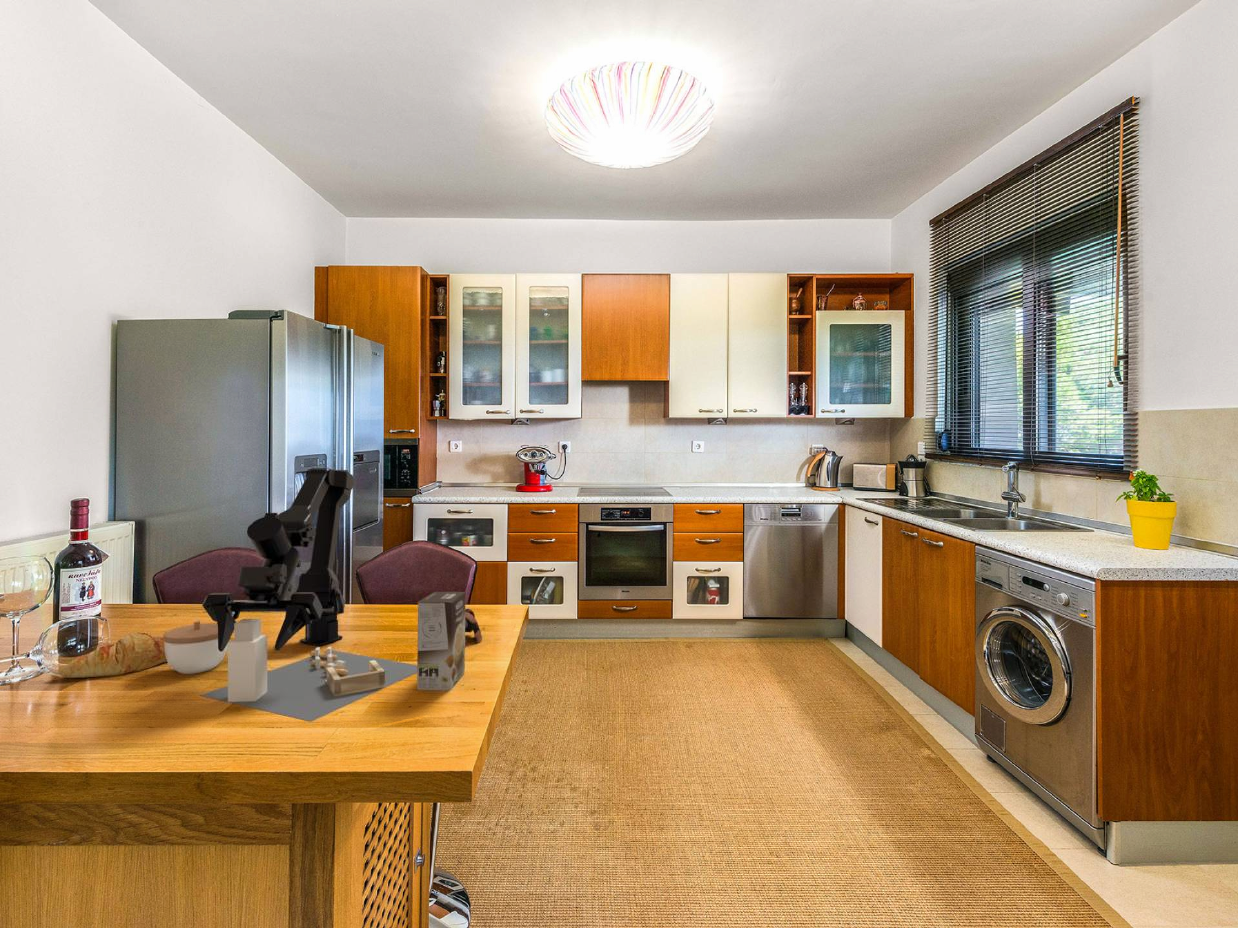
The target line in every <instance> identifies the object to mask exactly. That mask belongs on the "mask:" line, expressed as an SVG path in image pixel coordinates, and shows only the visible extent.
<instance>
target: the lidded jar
mask: <svg viewBox="0 0 1238 928" xmlns="http://www.w3.org/2000/svg"><path fill="white" fill-rule="evenodd" d="M162 638H163V640H164V652H165V657H166V660H167V662H166V663H167V664H168V665H169V666H170V667H171V668H172V670H174V671H175V672H177V673H179V674H185V675H186V674H187V675H188V674H189V675H192V674H198V673H199V674H200V673H203V672H207V671H210V670H213V669H214V668H216V666H218V665H219V664H220V663H221V662H222V661H223V659H224V658H225V655H226V654H227V653H228V644H227V646H226V647H225V649H224V650H223V651H222V652H220V651H219V650H218V624H217V622H216V623H215V622H209V623H208V622H206V623H201V621H199V620H198V621H193V624H188V625H184V626H180V627H174V628H171V629H169V630H167V631H165V632H164V633H163V635H162Z"/></svg>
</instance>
